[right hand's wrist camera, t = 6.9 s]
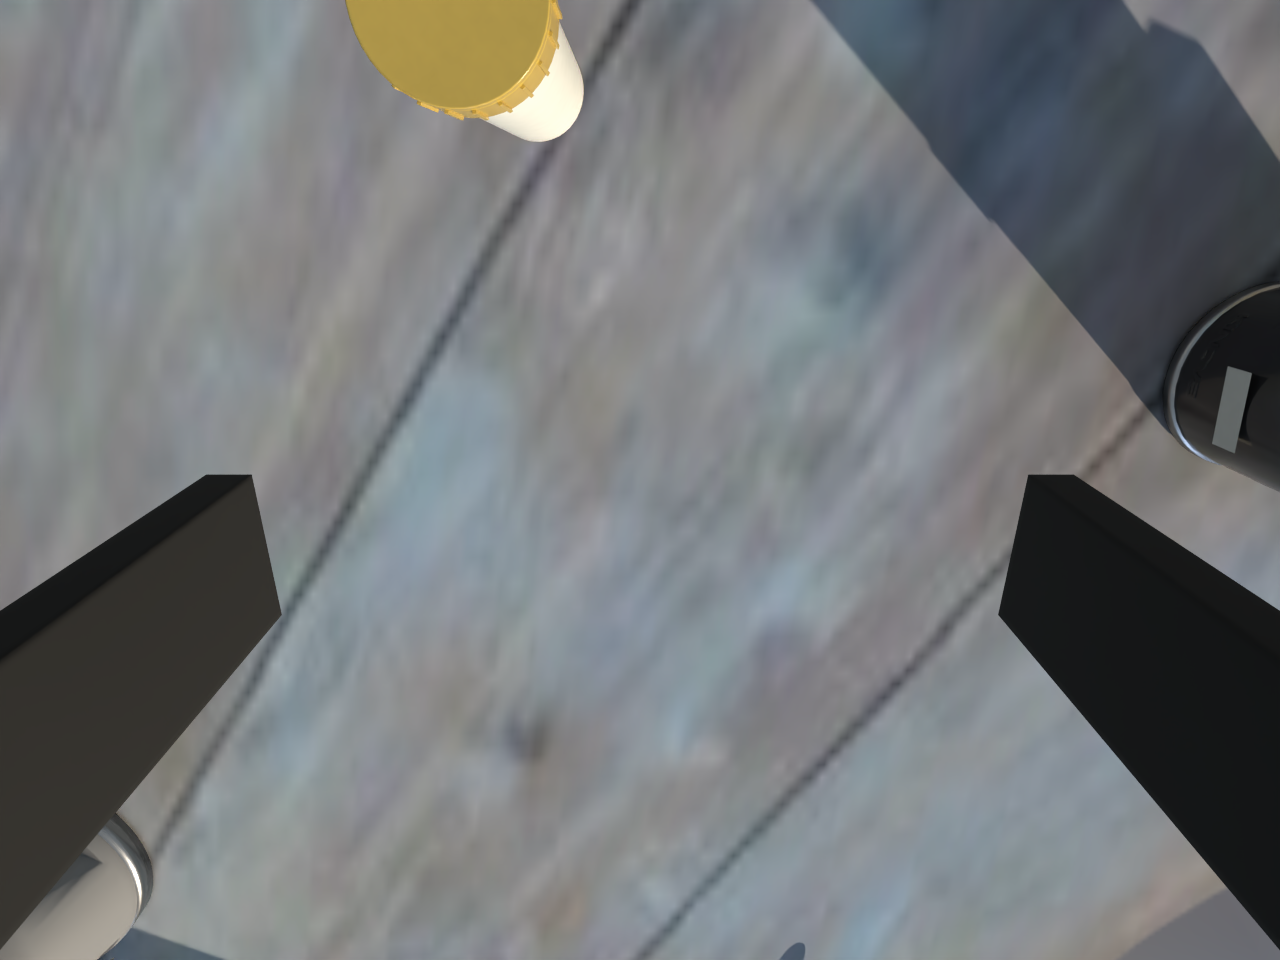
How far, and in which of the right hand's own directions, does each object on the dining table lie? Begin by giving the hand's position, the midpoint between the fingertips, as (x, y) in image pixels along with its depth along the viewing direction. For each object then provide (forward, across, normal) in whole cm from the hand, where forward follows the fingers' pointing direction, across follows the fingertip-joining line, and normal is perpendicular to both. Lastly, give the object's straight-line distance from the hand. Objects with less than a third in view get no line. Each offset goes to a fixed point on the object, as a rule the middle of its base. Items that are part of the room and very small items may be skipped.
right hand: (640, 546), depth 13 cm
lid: (+9, -4, +10) cm, 14 cm away
